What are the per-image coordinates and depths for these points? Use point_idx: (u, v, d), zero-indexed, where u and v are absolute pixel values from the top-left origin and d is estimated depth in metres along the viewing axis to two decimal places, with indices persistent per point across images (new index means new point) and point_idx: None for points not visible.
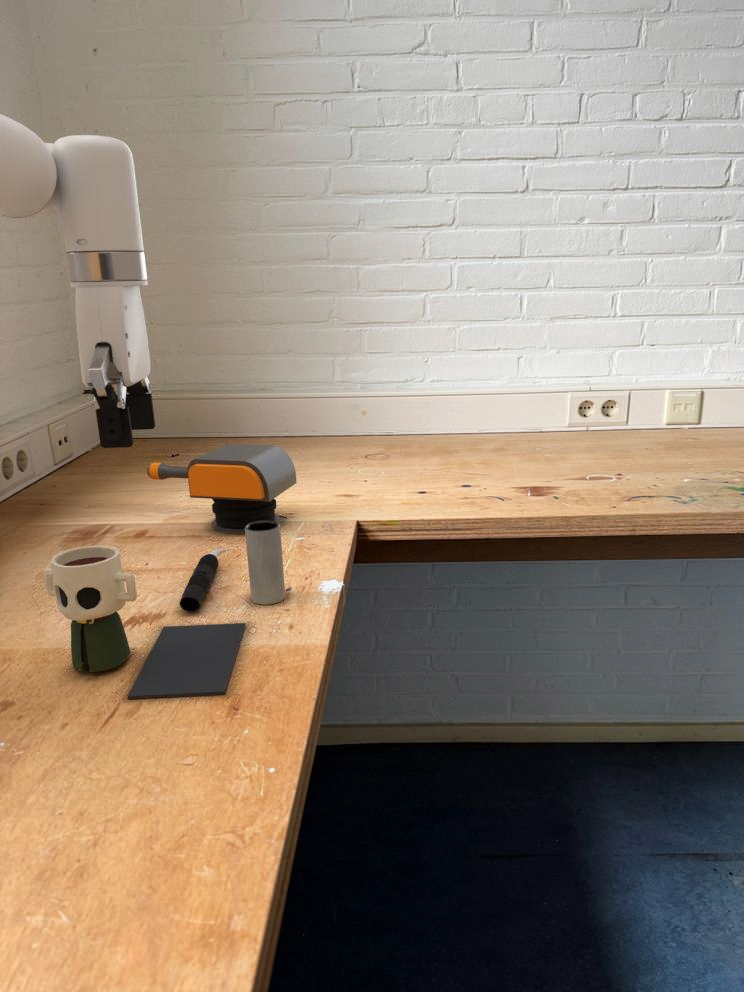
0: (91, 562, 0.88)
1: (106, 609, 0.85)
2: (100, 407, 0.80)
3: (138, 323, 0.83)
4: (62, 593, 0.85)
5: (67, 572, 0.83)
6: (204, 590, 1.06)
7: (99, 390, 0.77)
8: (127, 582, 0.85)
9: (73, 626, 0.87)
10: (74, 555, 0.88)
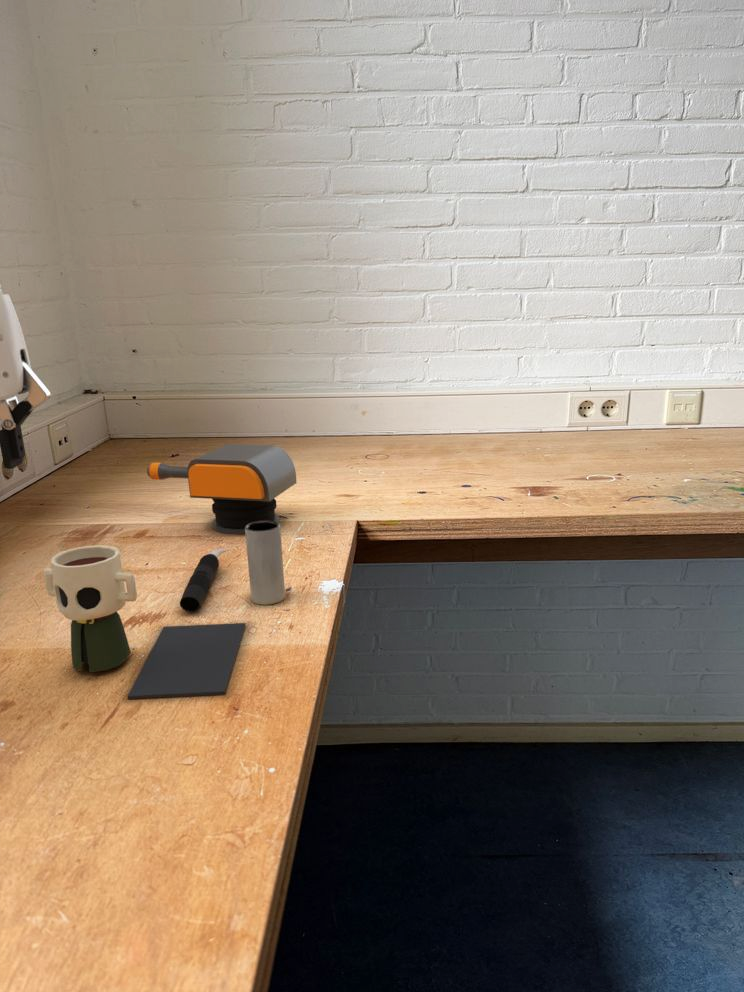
0: (91, 562, 0.88)
1: (106, 609, 0.85)
2: (16, 425, 0.80)
3: None
4: (62, 593, 0.85)
5: (67, 572, 0.83)
6: (204, 590, 1.06)
7: (33, 409, 0.81)
8: (127, 582, 0.85)
9: (73, 626, 0.87)
10: (74, 555, 0.88)
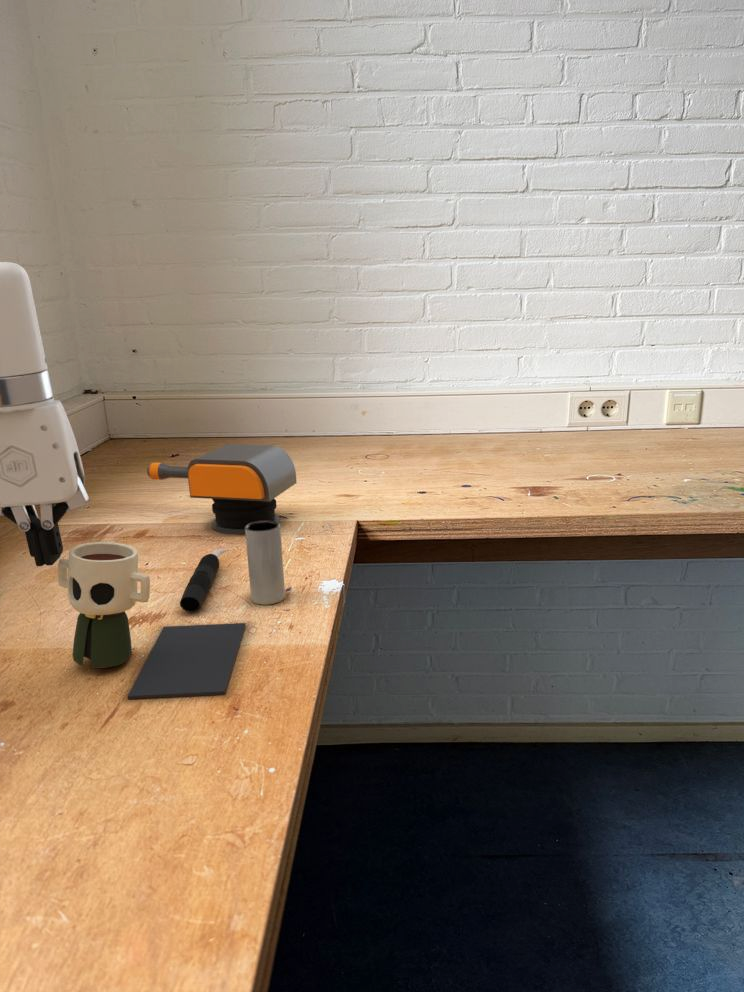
0: (107, 558, 0.88)
1: (117, 607, 0.86)
2: (55, 524, 0.84)
3: None
4: (76, 585, 0.85)
5: (85, 565, 0.83)
6: (204, 590, 1.06)
7: None
8: (142, 583, 0.86)
9: (80, 620, 0.87)
10: (91, 549, 0.89)
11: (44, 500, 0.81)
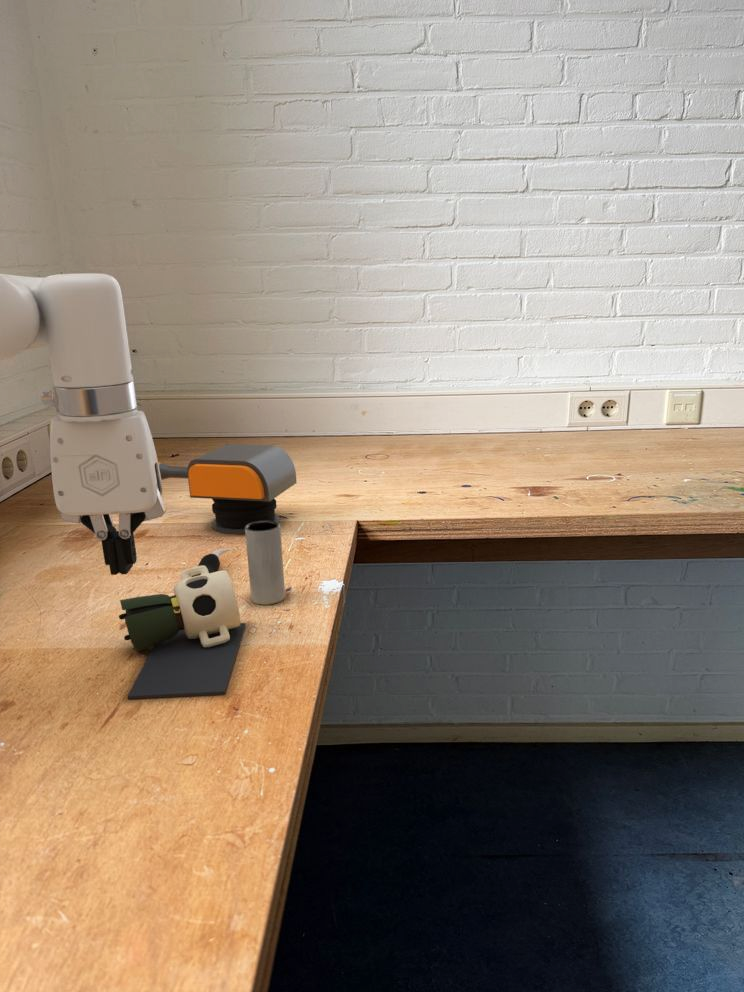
0: None
1: (194, 622, 0.91)
2: (131, 534, 0.85)
3: None
4: (199, 582, 0.93)
5: (226, 584, 0.93)
6: None
7: None
8: (222, 636, 0.92)
9: (164, 596, 0.92)
10: None
11: (124, 509, 0.82)
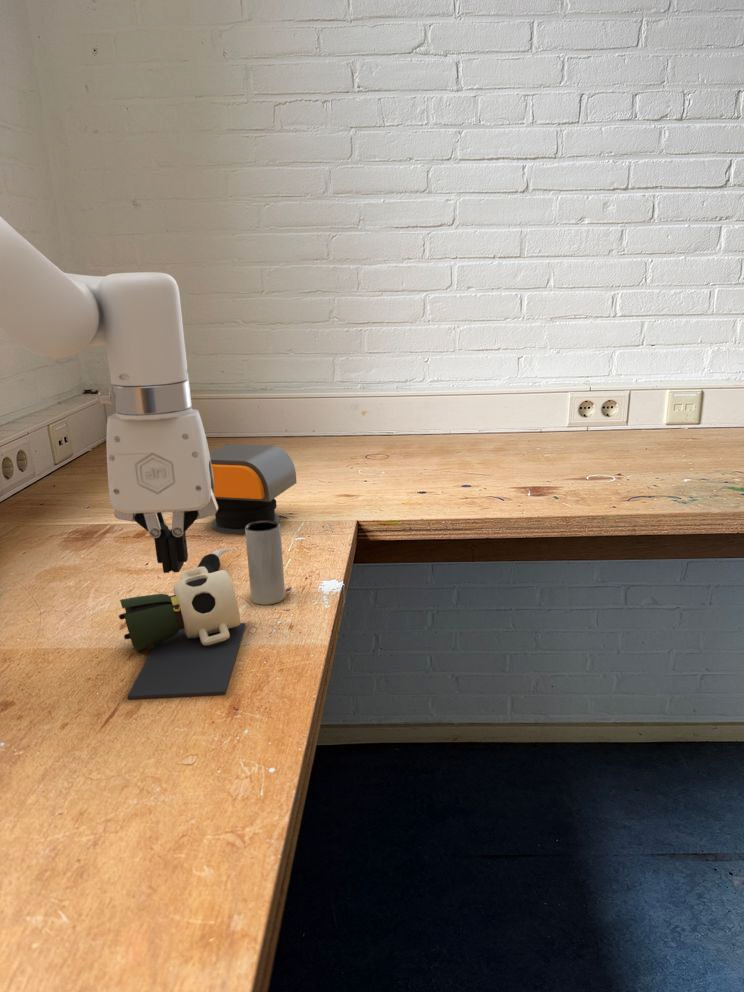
0: None
1: (193, 620, 0.91)
2: (184, 532, 0.85)
3: None
4: (199, 581, 0.94)
5: (226, 582, 0.93)
6: None
7: None
8: (222, 634, 0.92)
9: (164, 595, 0.93)
10: None
11: (179, 508, 0.82)
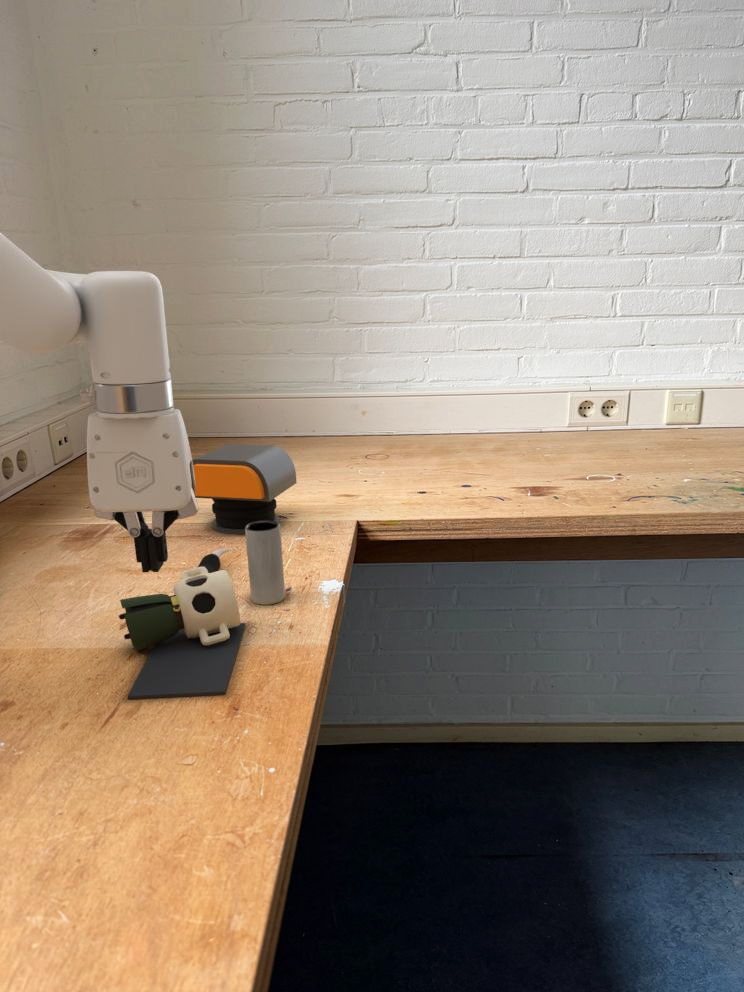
0: None
1: (193, 620, 0.91)
2: (164, 532, 0.85)
3: None
4: (199, 581, 0.94)
5: (226, 582, 0.93)
6: None
7: None
8: (222, 634, 0.92)
9: (164, 595, 0.93)
10: None
11: (159, 507, 0.82)
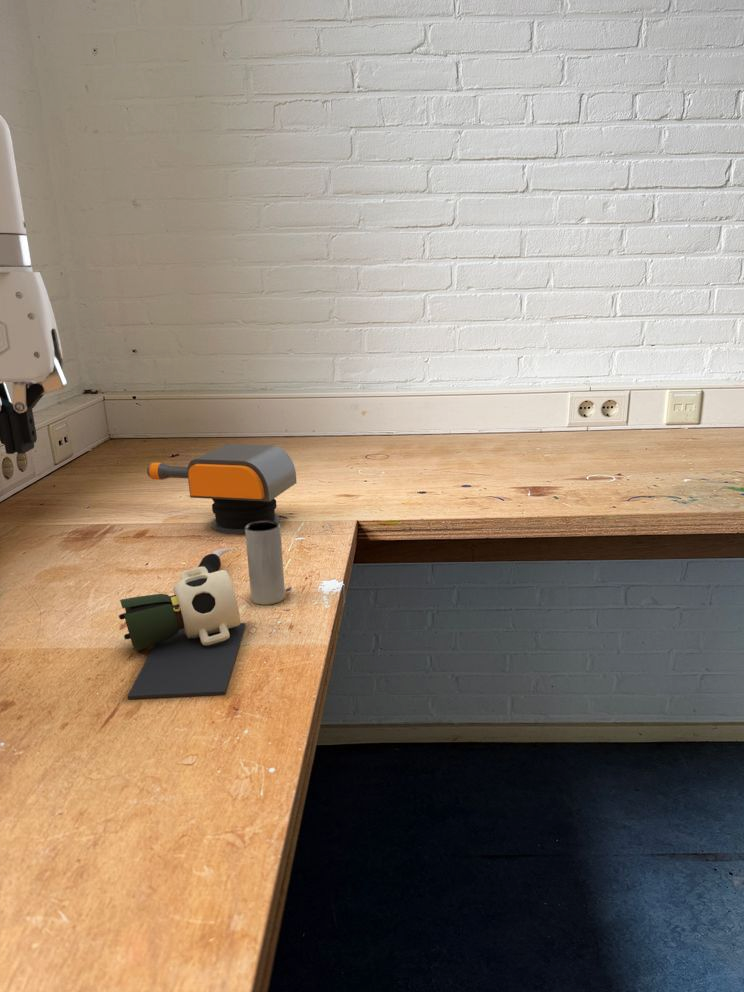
0: None
1: (193, 620, 0.91)
2: (28, 408, 0.78)
3: None
4: (199, 581, 0.94)
5: (226, 582, 0.93)
6: None
7: None
8: (222, 634, 0.92)
9: (164, 595, 0.93)
10: None
11: (17, 377, 0.75)
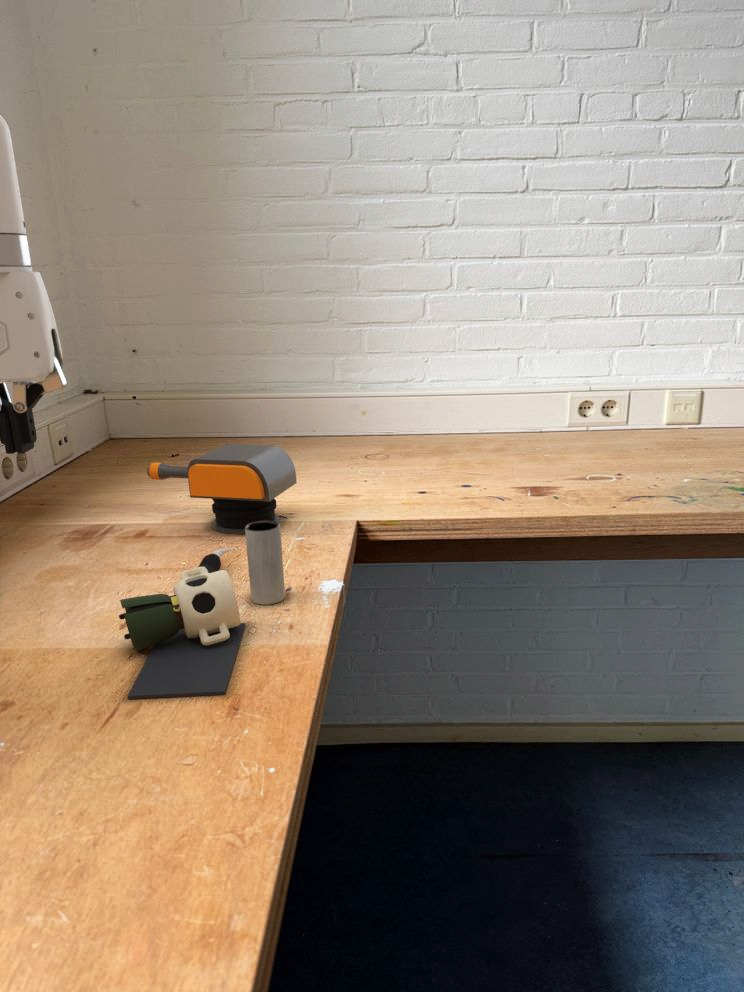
0: None
1: (193, 620, 0.91)
2: (28, 408, 0.78)
3: None
4: (199, 581, 0.94)
5: (226, 582, 0.93)
6: None
7: (44, 393, 0.78)
8: (222, 634, 0.92)
9: (164, 595, 0.93)
10: None
11: (17, 377, 0.75)
